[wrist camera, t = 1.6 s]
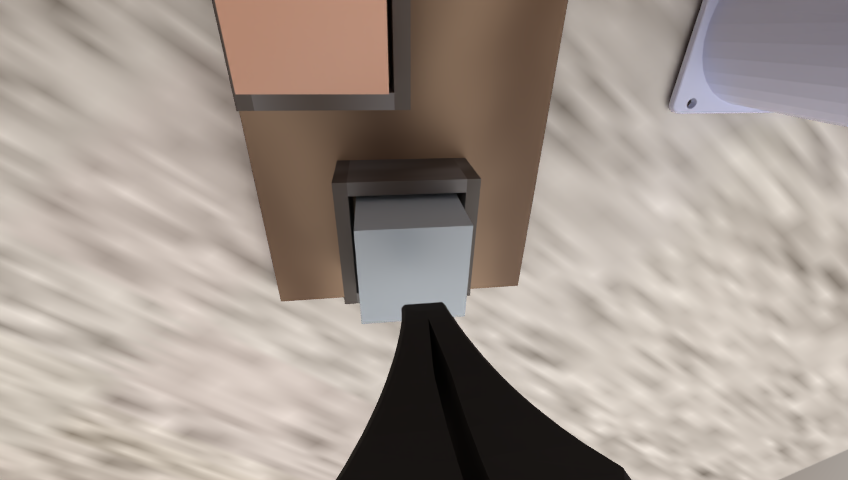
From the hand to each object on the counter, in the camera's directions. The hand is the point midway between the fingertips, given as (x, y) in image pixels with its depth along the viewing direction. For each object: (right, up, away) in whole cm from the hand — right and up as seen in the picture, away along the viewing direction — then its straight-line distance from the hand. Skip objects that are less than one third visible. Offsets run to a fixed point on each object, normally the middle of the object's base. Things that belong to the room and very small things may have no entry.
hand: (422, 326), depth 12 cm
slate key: (-1, +3, +5) cm, 6 cm away
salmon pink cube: (-4, +11, +1) cm, 11 cm away
